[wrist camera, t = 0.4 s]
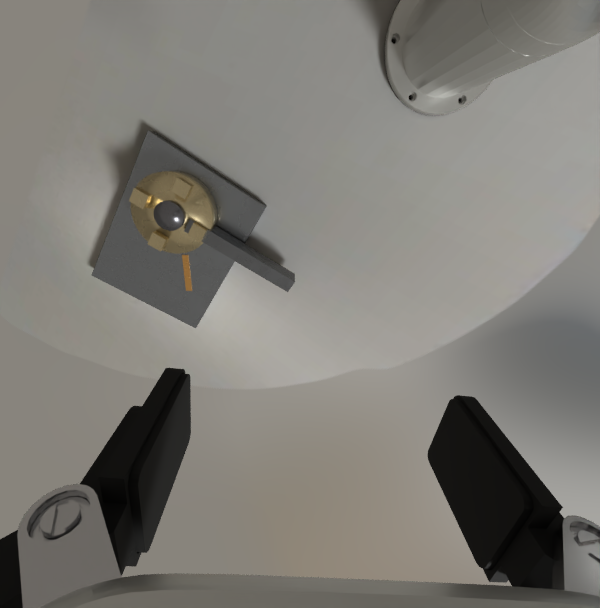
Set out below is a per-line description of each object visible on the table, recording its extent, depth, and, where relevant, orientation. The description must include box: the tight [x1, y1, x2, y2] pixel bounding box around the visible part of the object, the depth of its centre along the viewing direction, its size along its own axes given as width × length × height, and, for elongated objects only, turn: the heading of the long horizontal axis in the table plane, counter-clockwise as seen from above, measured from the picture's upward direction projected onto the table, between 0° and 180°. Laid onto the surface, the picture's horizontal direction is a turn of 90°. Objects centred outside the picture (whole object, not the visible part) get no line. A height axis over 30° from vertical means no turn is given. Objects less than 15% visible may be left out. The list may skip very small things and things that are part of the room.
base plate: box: [92, 131, 266, 328], centre depth 40 cm, size 20×15×2 cm
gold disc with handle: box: [129, 171, 295, 292], centre depth 37 cm, size 9×20×4 cm, turn 57°
